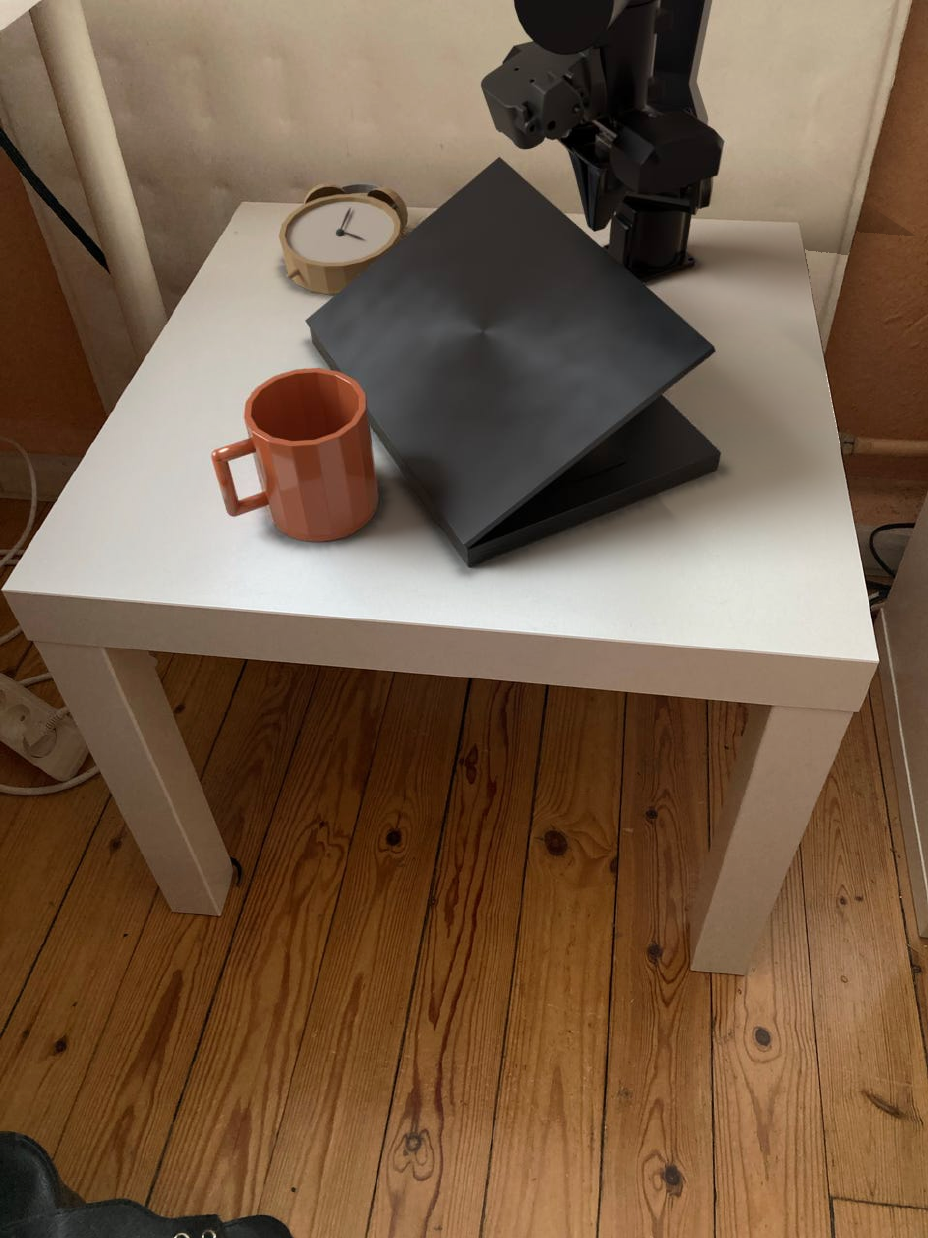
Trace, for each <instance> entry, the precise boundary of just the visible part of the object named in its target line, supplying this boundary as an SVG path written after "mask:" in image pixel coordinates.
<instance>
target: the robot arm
mask: <svg viewBox="0 0 928 1238" xmlns="http://www.w3.org/2000/svg"><path fill="white" fill-rule="evenodd" d="M712 5H713V0H513V6H514V10H515V13H516V16H517V20H518V22H519V23H520V25H521V27H522V29H523V30H524V32H525V34H526V35H527V36H528V37H529V38H530V39H531V41H527V42H524V43H519V44H515V45H513V46H512V47H511V48H510V50H509V52H508V53H507V54H506V56H505V57H504V59H503V60H502V64H501V65H499V66H498V67H496V68H494V70H492V71H491V72H489V73H488V74H486V75H485V76H484V77H483V78H482V79H481V82H480V88H481V90H482V93H483V96H484V100H485V102H486V105H487V108H488V111H489V114H490V117H491V119H492V122H493V125H494V128H495V130H496V131H497V132H498V133H501V134H503V135H504V136H506V137H507V138H508V139H509V140H510V141H512V143H513V144H514V146H516V148H518V149H521V150H531V149H534V148H536V147H538V146H539V145H541V144H542V143H544V141H545V139H547V140H550V141H555V140H556V141H557V142H559V143H560V145H562V146H563V147H564V148H565V149H566V151H567V153H568V157H569V159H570V163H571V166H572V170H573V174H574V177H575V181H576V186H577V189H578V193H579V197H580V201H581V205H582V210H583V213H584V216H585V221H586V225H587V228H589V229H590V230H591V231H593V232H594V233H596V232H600V231H602V230H604V229H606V228H607V226H608V225H609V224H610V228H609V240H608V243H607V244H604V245H603V246H602V248H603V249H605V250H606V251H607V252H608V253H609V254H610V255H611V256H612V257H614V258H615V259H616V260H617V261H618V262H619V263H620V264H622V265H623V266H624V267H625V268H626V269H627V270H628V271H629V272H631V273H632V274H633V275H634V276H635V277H636V278H637V279H639V280H640V281H641V282H642V283H643V284H644V283H646V282H648V281H651V280H655V279H657V278H661V277H664V276H668V275H670V274H673V273H676V272H680V271H683V270H686V269H689V268H692V267H695V266H696V262H697V259H696V258H695V256H693V255H692V253H689V252H688V251H687V249H688V243H689V235H690V230H691V222H692V217H693V216H696V215H697V213H698V211H699V210H702V209H704V208H709V206H710V205H711V201H712V195H713V189H714V177H717V176H719V173H720V170H721V164H722V157H723V152H724V146H725V140H724V138H723V137H722V136H721V135H720V134H719V133H718V132H717V131H716V129H715V128H713V127H712V126H710V125H709V116H708V112H707V109H706V106H705V103H704V100H703V97H702V94H701V90H700V88H699V85H698V76H699V72H700V66H701V61H702V60H701V59H702V55H703V52H704V51H703V50H704V45H705V40H706V35H707V30H708V25H709V20H710V15H711V9H712Z"/></svg>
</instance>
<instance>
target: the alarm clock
mask: <svg viewBox="0 0 928 1238" xmlns="http://www.w3.org/2000/svg"><path fill="white" fill-rule="evenodd" d="M363 194H367V195H363ZM407 208H408V207H407V205H406V203H405V201H404V200H403V198H402V197H401V196H400V195H399V194H398V193H397V192H396V191H395V190H393V189H391V188H389V187H385V186H382V185H380V184H377V183H371V182H353V183H352V182H351V183H347V184H344V185H341V186H339V185H337V184H334V183H329V182H327V183H320V184H317V185H315V186H313V188H311V189H310V190H309V192H308V193H307V194H306V196H305V198H304V201H303V204H302V205H300V206H299V207H297V208H296V209H294V210H293V211H292V212H290V213H289V214H288V216H287V217H286V218H285V219H284V221H283V222H282V224H281V225H280V230H279V235H278V238H279V241H280V245H281V249H282V253H283V258H284V265H285V268H286V271H287V274H286V276H285V277H286V279H287V280H288V281H290V280H293V282H294V283H295V284H296V285H297V286H299V287H302V288H304V289H306V290H307V291H310V292H313V293H317V294H324V295H328V296H335V295H336V294H337V293H338V292H340V291H341V290H342V289H343V288H344V287H346V286H347V285H348V284H349V283H350V282H351V281H353V280H354V279H355V278H356V277H357V276H359V275H360V274H361V273H362V272H363V271H364V270H366V269H367V268H368V267H369V266H370V265H372V264H373V263H374V262H375V261H376V260H377V259H379V258H380V257H381V256H382V255H383V254H385V253H386V252H387V251H388V250H389V249H391V248H392V247H393V246H394V245H395V244H396V243H398V242H399V241H400V240H401V239H402V238H403V237H402V233H403V232H404V231H405V229H406V227H407V224H408V221H409V212H408V209H407Z"/></svg>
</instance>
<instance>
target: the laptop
mask: <svg viewBox="0 0 928 1238" xmlns="http://www.w3.org/2000/svg"><path fill="white" fill-rule="evenodd" d="M309 332H310V337H311V342H312V343H311V344H312V346H314V348H315V349H316V350H317V352H318V354H319V356H321V358H322V359H323V361H324V362H325V364H326V365H327V366H328V368H329V370H333V371H338V372H341V371H340V370H339V368H338V367H337V365H336V364H335V363H334V361H333V360H332V358H331V357H330V355H329V354H328V353H327V351H326V350H325V348H324V347H323V346H322V344H321V343H320V341H319V340H318V338H317V337H316V336H315V334H314V333H313V331H312V330H311V329H310V328H309ZM341 373H342V372H341ZM368 414H369V422H370V429H371V430H372V431H373V432H374V434H375V436H376V437H377V438H378V440H379V441H380V442H381V444H382V445H383V447H384V448H385V450H386V451H387V452H388V454H389V455H390V457H391V458H392V460H393V461H394V463H395V464H396V465H397V467H398V468H399V470H400V471H401V473H402V474H403V475H404V477H405V478H406V480H407V482H409V484H410V486H411V487H412V489H413V490H414V491H415V493H416V494H417V496H418V497H419V498H420V500H421V502H422V503H423V504H424V505H425V507H426V508H427V510H428V511H429V513H430V514H431V516H432V517H433V519H434V520H435V521H436V523H437V525H438V526H439V527H440V529H441V530H442V531H443V533H444V534H445V536H446V537H447V539H448V540H449V542H450V543H451V544H452V546H453V548H454V549H455V551H457V553H458V554H459V556H460V557H461V559H462V560H463V562H464V563H465V564H466V566H467V568H472V567H473V566H476V565H478V564H482V563H484V562H486V561H489V560H491V559H494V558H496V557H500V556H502V555H504V554H506V553H509V552H511V551H514V550H517V549H520V548H521V547H525V546H527V545H529V544H533V543H535V542H538V541H540V540H543V539H545V538H548V537H550V536H553V535H556V534H558V533H560V532H563V531H567V530H568V529H570V528H574V527H576V526H578V525H581V524H582V523H583V524H584V523H586V522H589V521H591V520H594V519H596V518H599V517H601V516H603V515H607V514H609V513H612V512H614V511H617V510H620V509H621V508H625V507H627V506H630V505H632V504H635V503H638V502H640V501H642V500H645V499H648V498H650V497H653V496H656V495H657V494H660V493H663V492H665V491H669V490H671V489H674V488H675V487H678V486H681V485H683V484H686V483H689V482H690V481H694V480H696V479H699V478H701V477H703V476H706V475H708V474H712V473H713V472H716V471H718V469H719V465H720V461H721V457H722V451H721V450H720V449H719V448H718V447H717V446H716V445H715V444H713V442H712V441H711V440H709V438H707V437H706V435H704V434H703V433H702V432H701V431H700V430H699V429H698V427H696V426H695V425H694V424H693V423H692V422H691V421H690V420H689V419H688V418H687V417H686V416H685V415H684V413H682V412H681V411H680V410H679V409H678V408H677V407H676V406H675V405H674V404H673V403H672V402H671V401H670V400H668V398H667V397H666V396H665V395H663V394H662V395H661V396H659V397H658V398H657V399H655V400H654V401H653V402H652V403H650V404H649V405H648V406H647V407H645V408H644V409H643V410H642V411H640V412H639V413H638V414H637V415H635V416H634V417H633V418H632V419H630V420H629V421H628V422H626V423H625V424H624V425H623V426H621V427H620V428H619V429H618V430H616V431H615V432H614V433H613V434H611V435H610V436H609V437H608V438H606V439H605V440H604V441H603V442H601V443H600V444H599V445H598V446H596V447H595V448H594V449H592V450H591V451H590V452H589V453H587V454H586V455H585V456H584V457H582V458H581V459H580V460H579V461H577V462H576V463H575V464H574V465H572V466H571V467H570V468H569V469H567V470H566V471H565V472H563V473H562V474H561V475H560V476H558V477H557V478H556V479H555V480H553V481H552V482H551V483H550V484H548V485H547V486H546V487H545V488H543V489H542V490H541V491H540V492H538V493H537V494H536V495H534V496H533V497H532V498H531V499H529V500H528V501H527V502H526V503H524V504H523V505H522V506H521V507H519V508H518V509H517V510H516V511H514V512H513V513H512V514H511V515H509V516H508V517H507V518H505V519H504V520H503V521H502V522H500V523H499V524H498V525H497V526H495V527H494V528H493V529H492V530H490V531H489V532H488V533H487V534H485V535H484V536H483V537H482V538H480V539H479V540H478V541H476V542H475V543H474V544H473V545H471V546H470V547H469V548H468V549H467V548H466V547H465V546H464V545H463V544H462V543H461V541H460V540H459V538H458V537H457V535H456V534H455V533H454V531H453V530H452V528H451V527H450V526H449V524H448V523H447V521H446V520H445V518H444V517H443V516H442V514H441V513H440V511H439V510H438V509H437V507H436V506H435V504H434V503H433V501H432V500H431V499H430V497H429V496H428V494H427V493H426V492H425V490H424V489H423V487H422V486H421V484H420V483H419V482H418V480H417V479H416V477H415V476H414V475H413V473H412V472H411V470H410V469H409V467H408V466H407V465H406V463H405V462H404V460H403V459H402V458H401V456H400V455H399V453H398V452H397V450H396V449H395V448H394V446H393V445H392V443H391V442H390V441H389V439H388V438H387V436H386V435H385V433H384V432H383V431H382V429H381V428H380V426H379V425H378V424H377V422H376V421H375V419H374V418H373V416H372V415H371V414H370V412H369V411H368Z"/></svg>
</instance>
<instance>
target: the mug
mask: <svg viewBox="0 0 928 1238" xmlns="http://www.w3.org/2000/svg"><path fill="white" fill-rule="evenodd" d="M243 420H244V423H245V429H246V431H247V436H248V438H246V439H243V440H240V441H236V442H233V443H231V444H228V445H224V446H221V447H218V448H216V449H214V450H213V451H212V452H211V454H210V458H211V459H210V460H211V462H212V465H213V469H214V472H215V476H216V479H217V482H218V486H219V490H220V494H221V496H222V500H223V503H224V507H225V510H226V513H227V515H229V516H230V517H232V518H235V517H239V516H241V515H244V514H247V513H251V512H252V511H255V510H259V509H262V508H264V507H265V508H266V511H267V514H268V517H269V520H270V521H271V522H272V524H273V525H274V527H275V528H276V529H277V530H279V531H280V532H281V533H283V534H284V535H285V536H288V537H290V538H292V539H295V540H299V541H303V542H310V543H311V542H312V543H323V542H331V541H336V540H339V539H342V538H345V537H348V536H350V535H352V534H353V533H355V532H357V531H359V530H360V529H362V528H363V527H365V525H367V524H368V523H369V521H370V520H372V518H373V516H374V515H375V513H376V511H377V508H378V505H379V498H380V497H379V489H378V488H379V487H378V478H377V477H378V476H377V470H376V463H375V454H374V453H375V452H374V446H373V445H374V444H373V437H372V429H371V427H370V422H369V414H368V406H367V398H366V393H365V392H364V391H363V389H362V388H361V386H360V385H359V384H358V382H357V381H356V380H354V379H352V378H350V377H348V376H347V375H345V374H343V373H341V372H338V371H333V370H331V369H326V368H321V367H313V368H312V367H311V368H297V369H292V370H289V371H286V372H283V373H280V374H276V375H274V376H272V377H270V378H269V379H267V380H265V381H263V382H262V383H261V384H260V385H258V386H256V387H255V388H254V390H253V391H252V392H251V394H250V395H249V397H248V398H247V399H246V400H245V403H244V412H243ZM251 454H252V456H253V461H254V464H255V465H254V466H255V469H256V472H257V473H256V474H257V476H258V481H259V484H260V489H261V492H259V493H256V494H252V495H250V496H247V497H245V498H241V499H239V497H238V493H237V490H236V489H237V488H236V485H235V482H234V479H233V475H232V471H231V468H230V464H229V462H230V461H234V460H237V459H239V458H242V457H245V456H248V455H251Z"/></svg>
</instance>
